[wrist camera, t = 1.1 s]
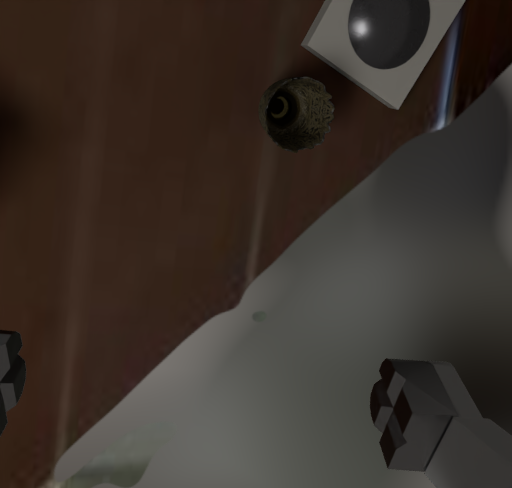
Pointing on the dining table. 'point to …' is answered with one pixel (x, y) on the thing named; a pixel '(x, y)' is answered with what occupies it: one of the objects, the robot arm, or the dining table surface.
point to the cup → (297, 113)
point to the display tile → (380, 41)
